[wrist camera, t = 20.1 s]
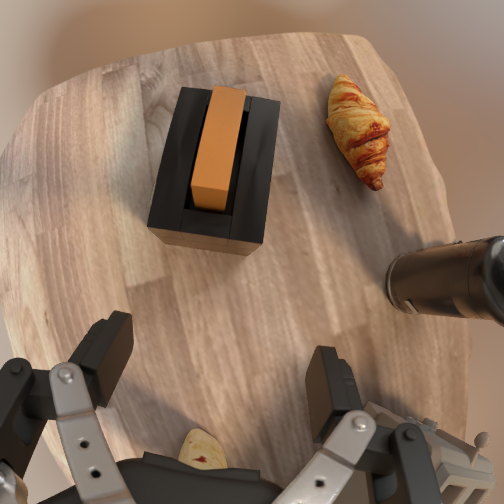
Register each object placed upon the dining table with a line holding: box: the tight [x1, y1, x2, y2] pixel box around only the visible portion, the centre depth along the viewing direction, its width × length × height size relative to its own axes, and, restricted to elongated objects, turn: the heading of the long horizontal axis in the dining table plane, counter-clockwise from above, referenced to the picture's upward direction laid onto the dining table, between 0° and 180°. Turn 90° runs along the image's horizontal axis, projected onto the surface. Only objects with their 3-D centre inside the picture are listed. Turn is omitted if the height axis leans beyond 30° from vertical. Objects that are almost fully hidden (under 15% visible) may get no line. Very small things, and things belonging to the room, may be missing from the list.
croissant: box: [326, 74, 390, 191], centre depth 42 cm, size 21×10×8 cm, turn 10°
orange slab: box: [191, 86, 247, 215], centre depth 29 cm, size 3×10×10 cm, turn 172°
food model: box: [178, 429, 227, 470], centre depth 27 cm, size 10×7×20 cm
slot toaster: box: [147, 87, 280, 256], centre depth 35 cm, size 12×16×12 cm
